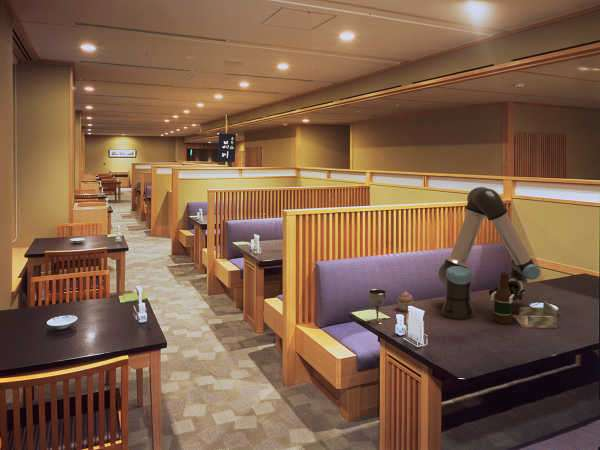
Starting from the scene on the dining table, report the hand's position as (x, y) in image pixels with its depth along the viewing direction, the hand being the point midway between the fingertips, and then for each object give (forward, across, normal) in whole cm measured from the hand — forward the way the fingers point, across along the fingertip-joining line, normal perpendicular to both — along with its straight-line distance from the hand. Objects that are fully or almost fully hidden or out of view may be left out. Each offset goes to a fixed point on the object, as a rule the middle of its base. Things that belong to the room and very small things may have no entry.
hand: (500, 299), depth 219 cm
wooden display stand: (-12, -13, -12) cm, 22 cm away
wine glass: (+27, +50, -13) cm, 58 cm away
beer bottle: (-5, 0, -13) cm, 14 cm away
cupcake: (+4, +46, -13) cm, 48 cm away
